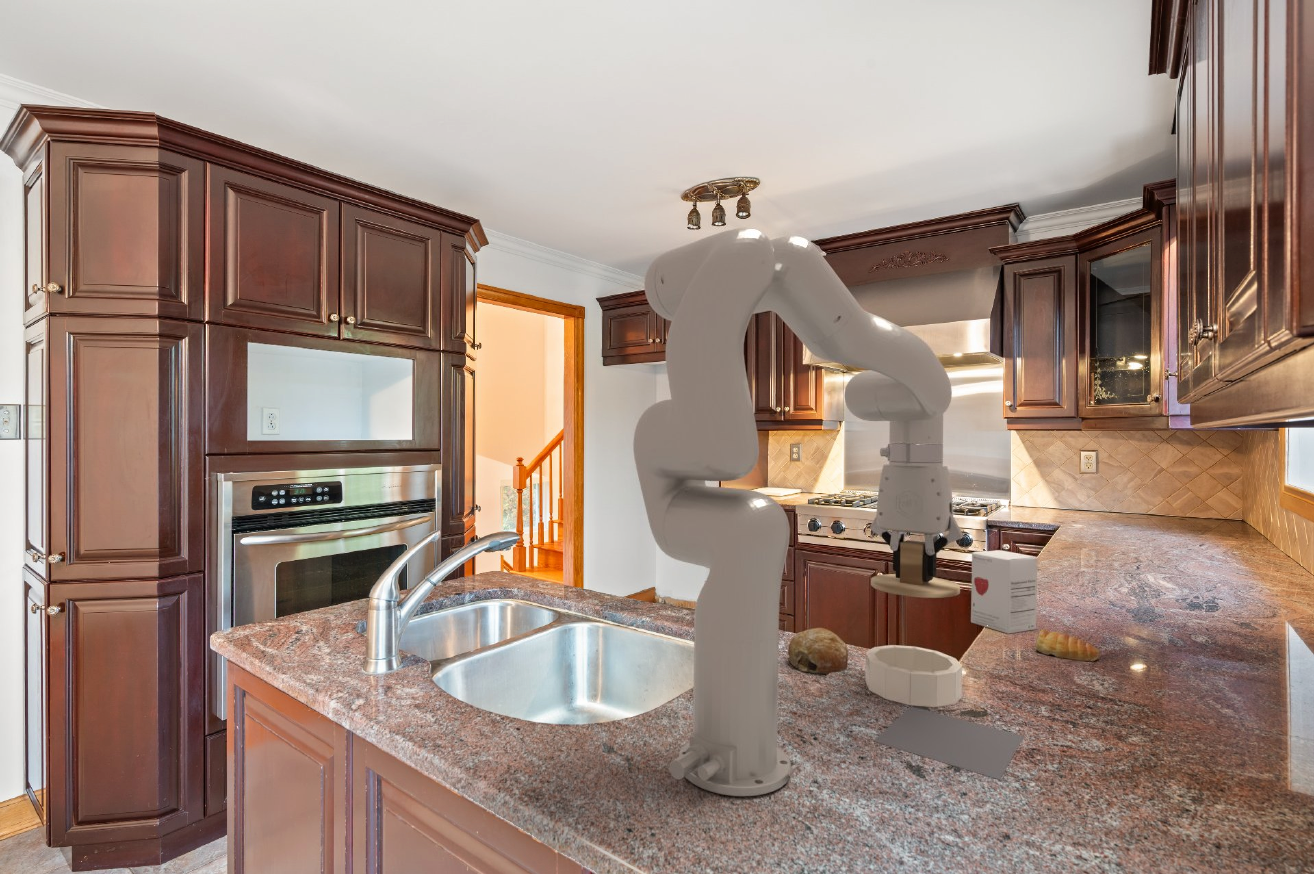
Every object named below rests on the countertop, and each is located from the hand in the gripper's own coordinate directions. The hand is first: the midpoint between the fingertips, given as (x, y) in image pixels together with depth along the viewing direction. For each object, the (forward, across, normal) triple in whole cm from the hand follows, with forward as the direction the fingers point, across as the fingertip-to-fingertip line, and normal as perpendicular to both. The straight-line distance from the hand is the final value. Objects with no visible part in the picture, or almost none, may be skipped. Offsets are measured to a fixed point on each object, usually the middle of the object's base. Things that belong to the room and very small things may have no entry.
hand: (914, 577), depth 98 cm
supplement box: (+18, +2, +50) cm, 53 cm away
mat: (+17, +9, -14) cm, 24 cm away
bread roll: (+18, -16, +2) cm, 24 cm away
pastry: (+18, +14, +38) cm, 44 cm away
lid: (+2, 0, 0) cm, 2 cm away
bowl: (+17, 0, 0) cm, 17 cm away
